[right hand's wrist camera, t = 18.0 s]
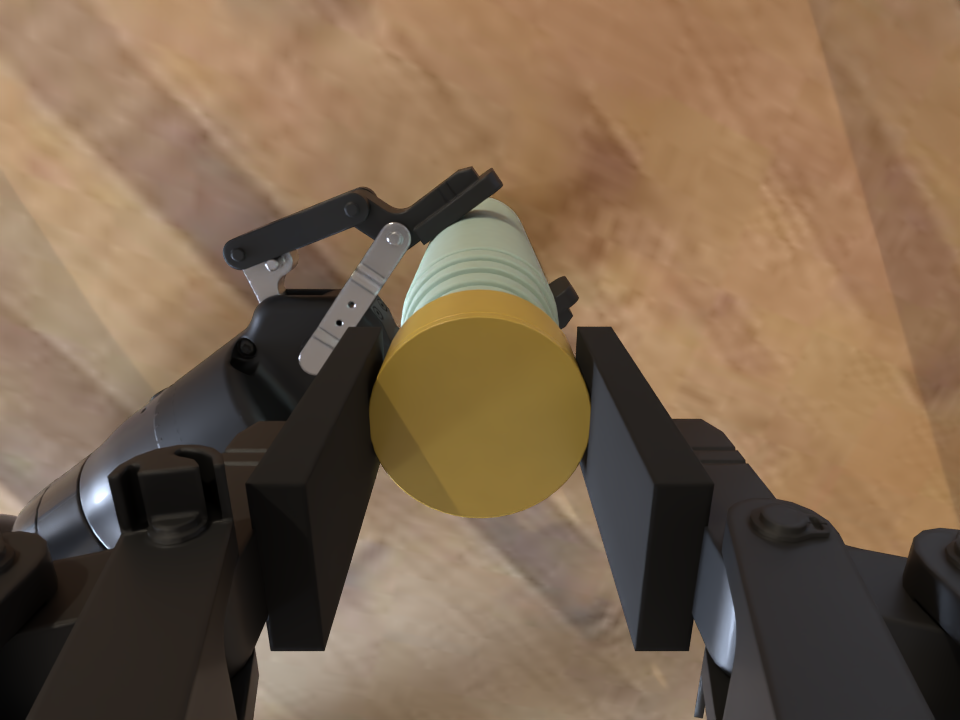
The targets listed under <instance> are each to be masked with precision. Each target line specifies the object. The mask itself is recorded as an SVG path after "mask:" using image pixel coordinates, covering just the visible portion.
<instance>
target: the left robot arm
mask: <svg viewBox="0 0 960 720" xmlns="http://www.w3.org/2000/svg"><path fill="white" fill-rule="evenodd" d="M502 186H503V184H502V182H501V180H500V179H499V177H498V176H497V174H496V173H495V171H494V170H493V168H491V169H489V170H488V171H486V172H485V173H483V174H482V175H481V176H479V175H478V174H477V172H476V171H475V170H474V168H473V167H472V166H471V167H467V168H463V169H460V170H458V171H457V172H455V173H454V174H453V175H451V176H450V177H449V178H447V179H446V180H445V181H443V182H442V183H441V184H439V185H438V186H437V187H435V188H434V189H433V190H431V191H430V192H429V193H427V194H426V195H425V196H424V197H422V198H421V199H420V200H418V201H417V202H416V203H414V204H413V205H412V206H410V207H408V208H404V209H397V208H394V207H391V206H390V205H388V204H387V203H385V202H384V201H382V200H381V199H379V198H378V197H377V196H376V194H375V193H374V192H373V191H372V190H371V189H369V188H367V187H359V188H356V189H353V190H351V191H348V192H346V193H344V194H341V195H339V196H336V197H334V198H331V199H329V200H326V201H324V202H321V203H319V204H316V205H314V206H311V207H309V208H306V209H304V210H301V211H299V212H296V213H294V214H291V215H289V216H286V217H284V218H281V219H279V220H276V221H274V222H271V223H269V224H266V225H264V226H262V227H259V228H257V229H254V230H252V231H250V232H247V233H245V234H243V235H241V236H238V237H236V238H234V239H232V240H230V241H228V242H227V243H226V244H225V246H224V248H223V256H224V259H225V261H226V262H227V264H228V265H229V266H231V267H232V268H234V269H237V270H243V272H244V274H245V276H246V277H247V279H248V281H249V283H250V285H251V287H252V289H253V291H254V293H255V295H256V297H257V299H258V301H259V302H260V304H259V305H258V306H257V307H256V309H255V311H254V314H253V317H252V320H251V322H250V324H249V326H248V327H247V328H246V329H245V330H244V331H242V332H241V333H240V334H238V335H237V336H236V337H234V338H233V339H232V340H230V341H229V342H228V343H226V344H225V345H224V346H223V347H221V348H220V349H219V350H217V351H216V352H215V353H213V354H212V355H211V356H209V357H208V358H207V359H205V360H204V361H203V362H201V363H200V364H199V365H197V366H196V367H195V368H193V369H192V370H191V371H190V372H188V373H187V374H186V375H184V376H183V377H182V378H180V379H179V380H178V381H176V382H175V383H174V384H173V385H171V386H170V387H168V388H166V389H164V390H162V391H160V392H158V393H157V394H155V395H154V396H153V397H152V398H151V400H150V401H149V403H147V404H146V405H145V406H143V407H142V408H141V409H139V410H138V411H137V412H135V413H134V414H133V415H132V416H130V417H129V418H128V419H127V420H126V421H125V422H123V423H122V424H121V425H120V426H119V427H118V428H117V429H116V430H115V431H114V432H113V433H112V434H111V435H110V436H109V438H108V439H107V440H106V441H105V442H104V443H103V444H102V445H101V446H100V447H98V448H97V449H96V450H95V451H94V452H93V453H91V454H90V455H89V456H87V457H86V458H85V459H83V460H82V461H81V462H79V463H78V464H77V465H75V466H74V467H73V468H71V469H70V470H69V471H67V472H66V473H65V474H63V475H62V476H61V477H60V478H58V479H56V480H55V481H54V482H52V483H51V484H50V485H48V486H47V487H46V488H44V489H43V490H42V491H41V492H39V493H38V494H37V495H36V496H35V497H34V498H33V499H32V500H31V501H30V502H29V503H28V504H27V505H26V506H25V507H24V508H23V509H22V511H21V512H20V513H19V515H18V516H13V515H7V514H0V533H5V532H15V531H24V532H30V533H37V534H39V535H40V536H41V537H42V538H44V539H45V540H46V541H47V544H48V547H49V551H50V554H51V557H52V561H54V560H59V559H64V558H69V557H74V556H80V555H85V554H90V553H95V552H100V551H104V550H108V549H112V548H114V547H115V545H116V543H117V541H118V539H119V537H120V535H121V532H120V528H119V523H118V519H117V515H116V511H115V507H114V503H113V499H112V495H111V491H110V486H109V482H108V478H107V476H108V475H109V474H110V473H111V472H112V471H113V470H114V469H115V468H116V467H117V466H118V465H120V464H122V463H124V462H126V461H127V460H129V459H131V458H133V457H135V456H137V455H140V454H143V453H146V452H149V451H152V450H155V449H158V448H164V447H170V446H175V445H202V446H207V447H211V448H214V449H216V450H217V451H219V452H220V453H221V454H222V453H225V449H226V447H227V446H228V445H229V444H230V442H231V441H232V440H233V439H234V437H235V436H236V435H237V434H238V433H240V432H241V431H243V430H245V429H246V428H248V427H250V426H251V425H253V424H255V423H256V422H258V421H287V419H288V418H289V416H290V415H291V413H292V412H293V410H294V409H295V407H296V406H297V404H298V403H299V401H300V400H301V398H302V397H303V395H304V394H305V392H306V390H307V389H308V387H309V386H310V384H311V383H312V381H313V380H314V378H315V377H316V375H317V374H318V372H319V371H320V369H321V368H322V366H323V365H324V363H325V362H326V360H327V359H328V357H329V356H330V354H331V353H332V351H333V350H334V348H335V346H336V345H337V343H338V342H339V340H340V339H341V337H342V336H343V334H344V333H345V331H346V330H347V328H348V327H382V333H383V350H384V359H385V357H386V354H387V352H388V349H389V347H390V345H391V342H392V340H393V339H394V337H395V335H396V334H397V332H398V330H399V329H400V328H398V327H397V326H396V324H395V322H394V319H393V317H392V315H391V313H390V310H389V309H388V307H387V306H386V305H385V304H384V302H383V301H382V300H381V299H380V297H379V296H378V295H377V294H378V293H379V291H380V290H381V288H382V287H383V285H384V284H385V282H386V281H387V279H388V278H389V276H390V275H391V273H392V272H393V270H394V269H395V267H396V266H397V264H398V263H399V261H400V260H401V258H402V257H403V255H404V254H405V252H406V251H407V250H408V249H410V248H411V247H412V246H414V245H415V244H417V243H418V242H419V241H421V242H422V243H423V244H424V245H425V244H426V243H427V242H429V241H430V240H432V239H433V238H434V237H436V236H437V235H438V234H439V233H441V232H442V231H443V230H444V229H446V228H447V227H449V226H451V225H452V224H453V223H455V222H456V221H457V220H459V219H460V218H461V217H463V216H464V215H465V214H467V213H468V212H469V211H471V210H472V209H474V208H475V207H476V206H478V205H479V204H480V203H482V202H483V201H484V200H486V199H487V198H488V197H490V196H491V195H493V194H494V193H495V192H496V191H498V190H499V189H500V188H501V187H502ZM352 227H355V228H357V229H358V230H360V231H361V232H363V233H364V234H366V235H368V236H369V237H371V238H372V239H374V242H373V243H372V245H371V247H370V248H369V250H368V251H367V253H366V254H365V256H364V257H363V259H362V260H361V262H360V263H359V265H358V266H357V268H356V269H355V271H354V272H353V273H352V275H351V276H350V278H349V279H348V281H347V282H346V284H345V286H344V287H343V289H286V288H285V285H284V279H285V276H286V274H287V273H289V272H290V271H291V270H293V269H294V268H295V267H296V266H297V264H298V261H299V255H298V252H297V250H296V249H299V248H301V247H304V246H306V245H309V244H311V243H314V242H316V241H319V240H321V239H324V238H327V237H329V236H332V235H334V234H337V233H339V232H342V231H344V230H347V229H349V228H352ZM549 287H550V289H551V291H552V294H553V296H554V299H555V303H556V307H557V313H558V321H559V328H560V329H562V328H564V327H565V326H566V325H567V324H568V322H569V321H570V319H571V318H572V317H573V315H572V313H571V311H570V309H569V308H570V307H571V306H572V305H574V304H575V303H576V302H577V301H578V299H579V297H578V295H577V293H576V292H575V290H574V288H573V287H572V285H571V284H570V282H569V281H568V280H567V278H566V277H565V276H562V277H560V278H558V279H556V280H554V281H553V282H552V283H550V284H549Z"/></svg>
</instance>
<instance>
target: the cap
mask: <svg viewBox="0 0 960 720" xmlns="http://www.w3.org/2000/svg"><path fill="white" fill-rule="evenodd" d="M590 412H591V402H590V396H589V392H588V389H587V386H586V383H585V380H584V378H583V376H582V373H581V371H580V368H579V366H578V363H577V361H576V359H575V356H574V354H573V351H572V349H571V347H570V345H569V343H568V341H567V339H566V337H565V335H564V334H563V332H562V331H561V329H560V328H559V326H558V325H557V324H556V323H555V322H554V321H553V320H552V319H551V318H550V316H548V315H547V314H546V313H545V312H544V311H542V310H541V309H540V308H538V307H537V306H535V305H534V304H532V303H530V302H529V301H527V300H524V299H522V298H520V297H518V296H515V295H512V294H508V293H505V292H500V291H494V290H481V289H476V290H465V291H460V292H455V293H451V294H448V295H445V296H442V297H440V298H437V299H435V300H434V301H432V302H430V303H428V304H426V305H425V306H423V307H422V308H420V309H419V310H418V311H416V312H415V313H414V314H413V315H412V316H411V317H410V318H409V319H407V320H406V322H405V323H404V324H403V325H402V327H401V328H400V329H399V330H398V332H397V334H396V335H395V337H394V339H393V340H392V342H391V345H390V347H389V349H388V352H387V354H386V357H385V359H384V361H383V364H382V366H381V369H380V371H379V373H378V376H377V378H376V381H375V383H374V386H373V389H372V392H371V396H370V400H369V419H370V433H371V442H372V445H373V448H374V451H375V453H376V455H377V457H378V459H379V461H380V463H381V465H382V466H383V468H384V469H385V471H386V472H387V474H388V475H389V476H390V478H391V479H392V480H393V481H394V482H395V483H396V484H397V485H398V486H399V487H400V488H401V489H402V490H403V491H404V492H406V493H407V494H408V495H410V496H411V497H412V498H414V499H415V500H417V501H418V502H420V503H422V504H424V505H426V506H428V507H430V508H432V509H435V510H438V511H440V512H443V513H447V514H451V515H454V516H460V517H467V518H492V517H500V516H505V515H510V514H513V513H516V512H520V511H523V510H525V509H527V508H530V507H532V506H534V505H536V504H538V503H540V502H541V501H543V500H545V499H546V498H548V497H549V496H550V495H552V494H553V493H554V492H556V491H557V490H558V489H559V488H560V487H561V486H562V485H563V484H564V483H565V482H566V481H567V480H568V479H569V477H570V476H571V475H572V474H573V472H574V471H575V470H576V468H577V466H578V465H579V463H580V461H581V459H582V457H583V455H584V453H585V450H586V448H587V445H588V440H589V427H590Z"/></svg>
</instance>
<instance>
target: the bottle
mask: <svg viewBox="0 0 960 720" xmlns="http://www.w3.org/2000/svg"><path fill="white" fill-rule="evenodd" d="M476 289H481V290H494V291H500V292H505V293H508V294H512V295H515V296H518V297H520V298H522V299H524V300H527V301H529V302H530V303H532V304H534V305H535V306H537V307H538V308H540V309H541V310H542V311H544V312H545V313H546V314H547V315H548V316H550V318H551V319H552V320H553V321H554V322H555V323H556V324H557V325H558V326H559V321H558V313H557V307H556V303H555V299H554V296H553V294H552V291H551V289H550V287H549V285H548V282H547V280H546V278H545V275H544V273H543V271H542V269H541V266H540V264H539V262H538V260H537V257H536V255H535V253H534V250H533V248H532V246H531V244H530V241H529V239H528V237H527V235H526V232H525V230H524V228H523V225H522V223H521V221H520V219H519V218H518V216H517V215H516V214H515V212H514V211H513V210H512V209H511V208H510V207H508V206H507V205H506V204H504V203H502V202H501V201H499V200H496V199H493V198H489V197H488V198H487V199H486V200H484V201H483V202H482V203H480V204H479V205H478V206H476V207H475V208H474V209H472V210H471V211H469V212H468V213H467V214H465V215H464V216H463V217H461V218H460V219H459V220H457V221H456V222H455V223H453V224H452V225H451V226H449V227H447V228H446V229H444V230H443V231H442V232H441V233H439V234H438V235H437V236H436V237H434V238H433V239H432V240H431V241H430V243H429V245H428V247H427V250H426V252H425V254H424V257H423V259H422V261H421V263H420V266H419V268H418V270H417V273H416V275H415V277H414V279H413V282H412V284H411V286H410V289H409V291H408V293H407V295H406V299H405V302H404V306H403V312H402V320H401V327H402V325H403V324H404V323H405V322H406V320H407V319H409V318H410V317H411V316H412V315H413V314H414V313H415V312H416V311H418V310H419V309H420V308H422V307H423V306H425V305H426V304H428V303H430V302H432V301H434V300H435V299H437V298H440V297H442V296H445V295H448V294H451V293H455V292H460V291H465V290H476Z"/></svg>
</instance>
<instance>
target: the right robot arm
mask: <svg viewBox="0 0 960 720" xmlns="http://www.w3.org/2000/svg"><path fill="white" fill-rule="evenodd" d="M383 361H384V350H383V333H382V327H348V328H347V330H346V331H345V333H344V334H343V336H342V337H341V339H340V340H339V342H338V343H337V345H336V346H335V348H334V350H333V351H332V353H331V354H330V356H329V357H328V359H327V360H326V362H325V363H324V365H323V366H322V368H321V369H320V371H319V372H318V374H317V375H316V377H315V378H314V380H313V381H312V383H311V384H310V386H309V387H308V389H307V390H306V392H305V394H304V395H303V397H302V398H301V400H300V401H299V403H298V404H297V406H296V407H295V409H294V410H293V412H292V413H291V415H290V416H289V418H288V419H287V421H258V422H256V423H255V424H253V425H251V426H250V427H248V428H246V429H245V430H243V431H241V432H240V433H238V434H237V435H236V436H235V437H234V439H233V440H232V441H231V442H230V444H229V445H228V446H227V447H226V449H225V453H222V454H221V453H220V452H219V451H217V450H216V449H214V448H211V447H207V446H202V445H175V446H170V447H164V448H158V449H155V450H152V451H149V452H146V453H143V454H140V455H137V456H135V457H133V458H131V459H129V460H127V461H126V462H124V463H122V464H120V465H118V466H117V467H116V468H115V469H114V470H113V471H112V472H111V473H110V474H109V475H108V476H107V478H108V482H109V486H110V491H111V495H112V499H113V503H114V507H115V511H116V515H117V519H118V523H119V528H120V532H121V535H120V537H119V539H118V541H117V543H116V545H115V547H114V548H112V549H108V550H104V551H100V552H95V553H90V554H85V555H80V556H74V557H69V558H64V559H59V560H54V561H52V557H51V554H50V551H49V547H48V544H47V541H46V540H45V539H44V538H42V537H41V536H40V535H39V534H37V533H30V532H24V531H15V532H5V533H0V720H253V717H254V709H255V702H256V694H257V686H258V679H259V672H258V664H257V658H256V652H255V645H256V643H257V641H258V638H259V636H260V634H261V631H262V629H263V627H264V624H265V622H266V623H267V630H268V636H269V643H270V649H271V651H325V647H326V644H327V640H328V637H329V634H330V630H331V627H332V624H333V620H334V617H335V613H336V610H337V607H338V603H339V600H340V597H341V593H342V590H343V587H344V583H345V580H346V576H347V573H348V570H349V566H350V563H351V560H352V556H353V553H354V549H355V546H356V543H357V539H358V536H359V533H360V529H361V526H362V522H363V519H364V516H365V512H366V509H367V506H368V502H369V499H370V495H371V492H372V489H373V485H374V482H375V479H376V475H377V472H378V468H379V465H380V461H379V459H378V457H377V455H376V453H375V451H374V448H373V445H372V442H371V433H370V419H369V400H370V396H371V392H372V389H373V386H374V383H375V381H376V378H377V376H378V373H379V371H380V369H381V366H382V364H383ZM576 361H577V363H578V366H579V368H580V371H581V373H582V376H583V378H584V380H585V383H586V386H587V389H588V392H589V396H590V402H591V412H590V427H589V440H588V445H587V448H586V450H585V453H584V455H583V457H582V459H581V461H580V466H581V470H582V473H583V477H584V480H585V483H586V487H587V490H588V493H589V497H590V500H591V504H592V507H593V510H594V514H595V517H596V520H597V524H598V527H599V531H600V534H601V537H602V541H603V544H604V547H605V551H606V554H607V558H608V561H609V564H610V568H611V571H612V574H613V578H614V581H615V585H616V588H617V591H618V595H619V598H620V601H621V605H622V608H623V612H624V615H625V618H626V622H627V625H628V628H629V632H630V635H631V639H632V642H633V645H634V649H635V651H689V647H690V640H691V634H692V627H693V621H694V620H695V622H696V625H697V627H698V629H699V631H700V634H701V636H702V638H703V641H704V643H705V645H706V646H705V652H704V658H703V664H702V670H701V676H700V682H699V688H698V694H697V700H696V707H695V714H694V717H698V718H703V714H704V708H706V716H707V720H960V530H956V529H946V528H936V529H930V530H924V531H922V532H920V533H919V534H918V535H917V536H915V537H914V538H913V542H912V545H911V549H910V552H909V555H908V558H906V557H900V556H895V555H890V554H885V553H880V552H874V551H869V550H864V549H859V548H855V547H851V546H847V545H845V544H844V542H843V540H842V538H841V536H840V534H839V533H838V532H837V530H836V529H835V528H834V527H833V526H832V524H831V523H830V522H829V521H828V520H826V519H825V518H823V517H822V516H820V515H819V514H817V513H816V512H814V511H812V510H810V509H808V508H805V507H803V506H800V505H798V504H795V503H793V502H788V501H784V500H779V499H776V498H775V497H774V495H773V494H772V493H771V492H770V490H769V489H768V488H767V487H766V485H765V484H764V483H763V482H762V480H761V479H760V478H759V477H758V475H757V474H756V473H755V472H754V470H753V469H752V468H751V467H750V465H749V464H746V463H745V459H744V458H743V457H742V455H741V454H740V453H739V452H738V450H735V447H734V445H733V444H732V443H731V442H730V440H729V439H728V438H727V437H726V435H725V434H724V433H723V432H722V431H720V430H719V429H717V428H715V427H714V426H712V425H710V424H709V423H707V422H705V421H704V420H702V419H671V417H670V415H669V414H668V412H667V411H666V409H665V408H664V406H663V405H662V403H661V402H660V400H659V399H658V397H657V396H656V394H655V393H654V391H653V390H652V388H651V387H650V385H649V384H648V382H647V381H646V379H645V378H644V376H643V374H642V373H641V371H640V370H639V368H638V367H637V365H636V364H635V362H634V361H633V359H632V358H631V356H630V355H629V353H628V352H627V350H626V349H625V347H624V346H623V344H622V343H621V341H620V340H619V338H618V337H617V335H616V333H615V332H614V330H613V329H612V327H577V343H576Z"/></svg>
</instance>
